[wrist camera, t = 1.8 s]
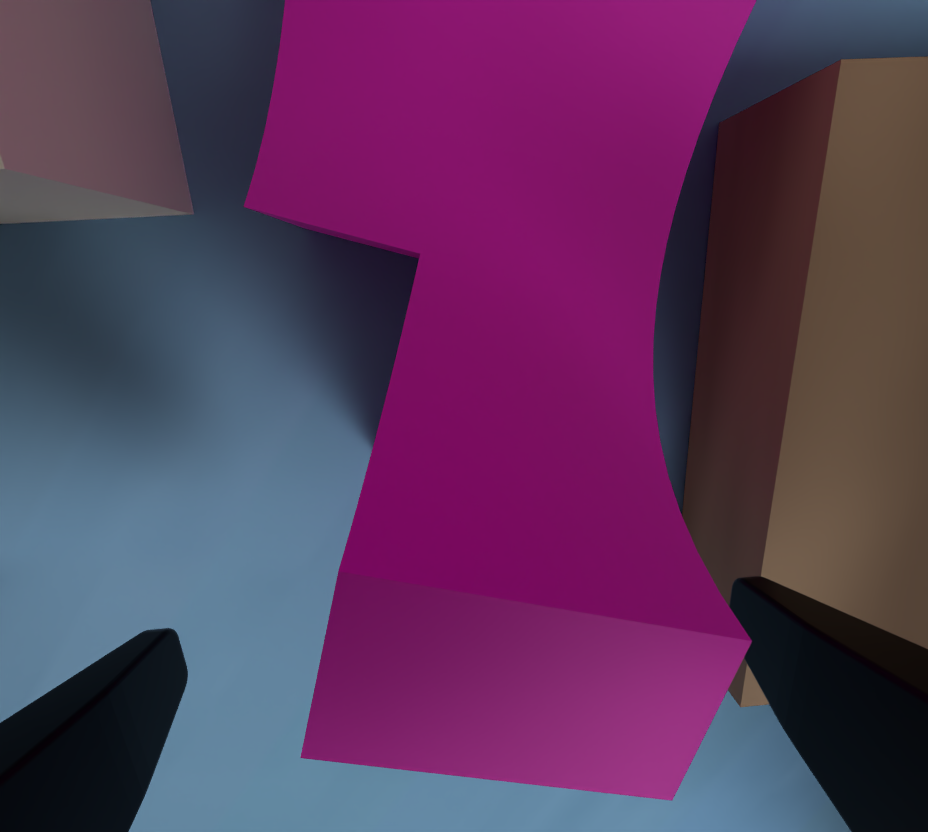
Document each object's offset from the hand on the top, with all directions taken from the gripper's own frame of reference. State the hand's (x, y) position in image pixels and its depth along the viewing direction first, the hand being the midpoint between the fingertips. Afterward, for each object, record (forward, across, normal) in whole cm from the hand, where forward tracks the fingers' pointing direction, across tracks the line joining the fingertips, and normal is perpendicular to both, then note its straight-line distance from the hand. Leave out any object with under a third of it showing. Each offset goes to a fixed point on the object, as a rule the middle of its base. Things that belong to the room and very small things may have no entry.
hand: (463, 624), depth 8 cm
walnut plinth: (+4, -10, -2) cm, 11 cm away
